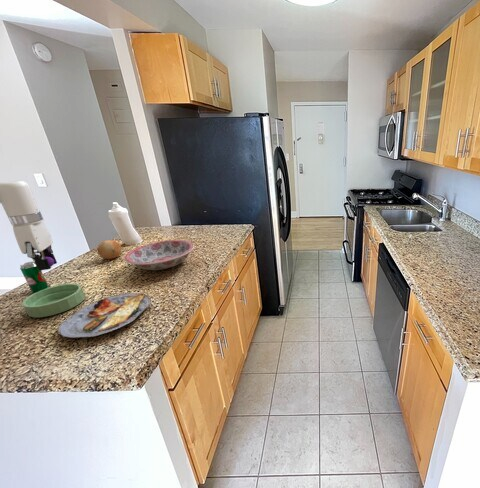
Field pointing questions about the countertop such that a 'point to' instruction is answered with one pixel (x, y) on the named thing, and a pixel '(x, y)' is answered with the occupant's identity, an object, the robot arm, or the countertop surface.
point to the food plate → (104, 315)
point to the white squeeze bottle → (123, 225)
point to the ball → (50, 261)
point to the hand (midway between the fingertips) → (48, 266)
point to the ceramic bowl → (160, 254)
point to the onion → (109, 249)
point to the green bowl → (53, 300)
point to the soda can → (34, 277)
